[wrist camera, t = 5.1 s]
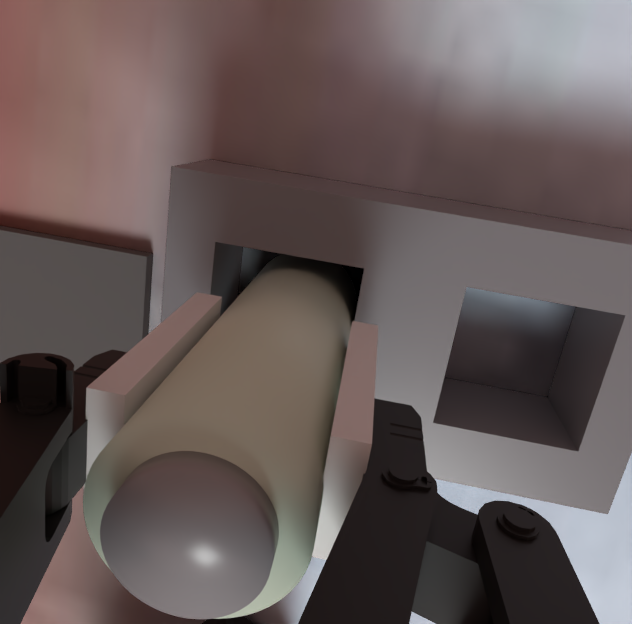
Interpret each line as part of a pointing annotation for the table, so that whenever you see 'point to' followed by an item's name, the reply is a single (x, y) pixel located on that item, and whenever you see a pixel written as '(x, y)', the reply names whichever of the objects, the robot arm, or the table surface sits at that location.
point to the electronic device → (229, 621)
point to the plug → (230, 452)
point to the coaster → (70, 296)
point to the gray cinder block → (440, 313)
